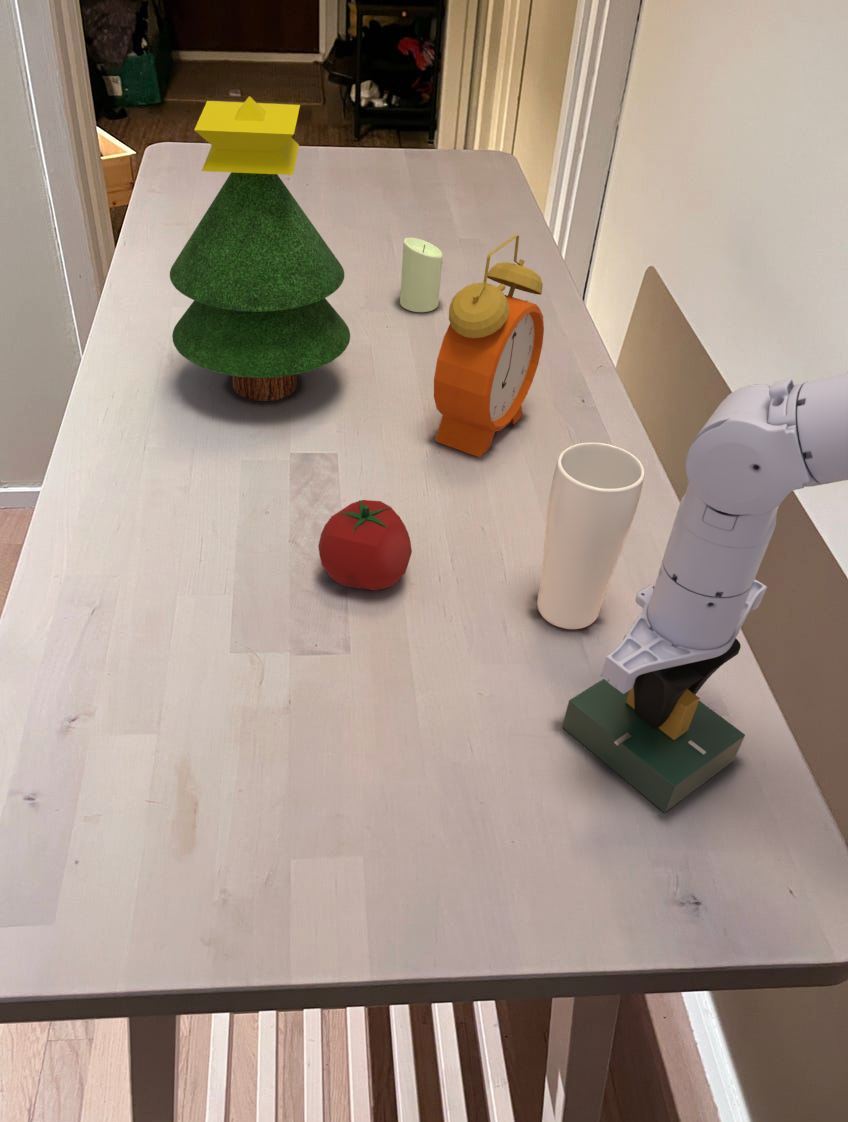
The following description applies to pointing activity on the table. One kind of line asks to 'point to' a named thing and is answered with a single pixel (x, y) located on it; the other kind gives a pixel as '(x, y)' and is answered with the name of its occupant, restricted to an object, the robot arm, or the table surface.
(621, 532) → the drinking glass
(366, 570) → the tomato
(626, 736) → the knob panel
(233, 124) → the decorative tree
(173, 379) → the table surface
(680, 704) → the yellow block
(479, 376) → the alarm clock
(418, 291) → the candle
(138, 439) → the table surface
